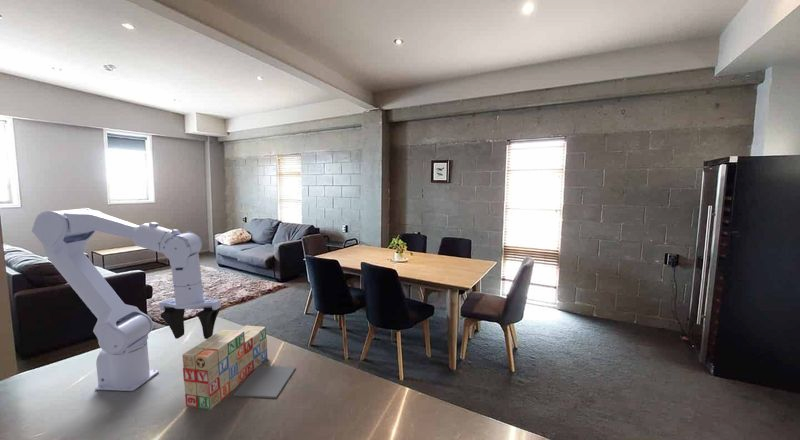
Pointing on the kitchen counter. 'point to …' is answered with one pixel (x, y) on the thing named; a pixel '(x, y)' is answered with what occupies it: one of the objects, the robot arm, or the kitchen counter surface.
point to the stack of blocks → (222, 364)
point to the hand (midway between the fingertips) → (194, 336)
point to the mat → (265, 382)
